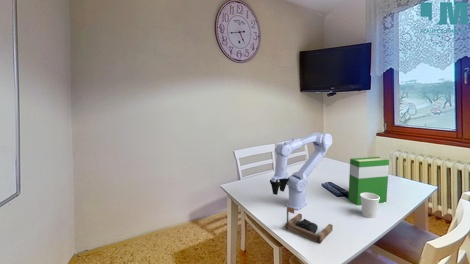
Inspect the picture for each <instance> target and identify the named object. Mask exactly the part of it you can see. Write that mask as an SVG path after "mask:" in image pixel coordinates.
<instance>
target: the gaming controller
mask: <svg viewBox="0 0 470 264" xmlns="http://www.w3.org/2000/svg"><path fill="white" fill-rule="evenodd" d="M295 226H298V227H300V228H302V227H306V228H308V229H309V231H310V232H313V233H315V234H317V231H318V229H319V226H318V224H316V223H314V222H313V221H310V220H309V219H308V220H307V219H306V218H303V219H302V220H300V221H298V222H297V223H296V224H295Z"/></svg>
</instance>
